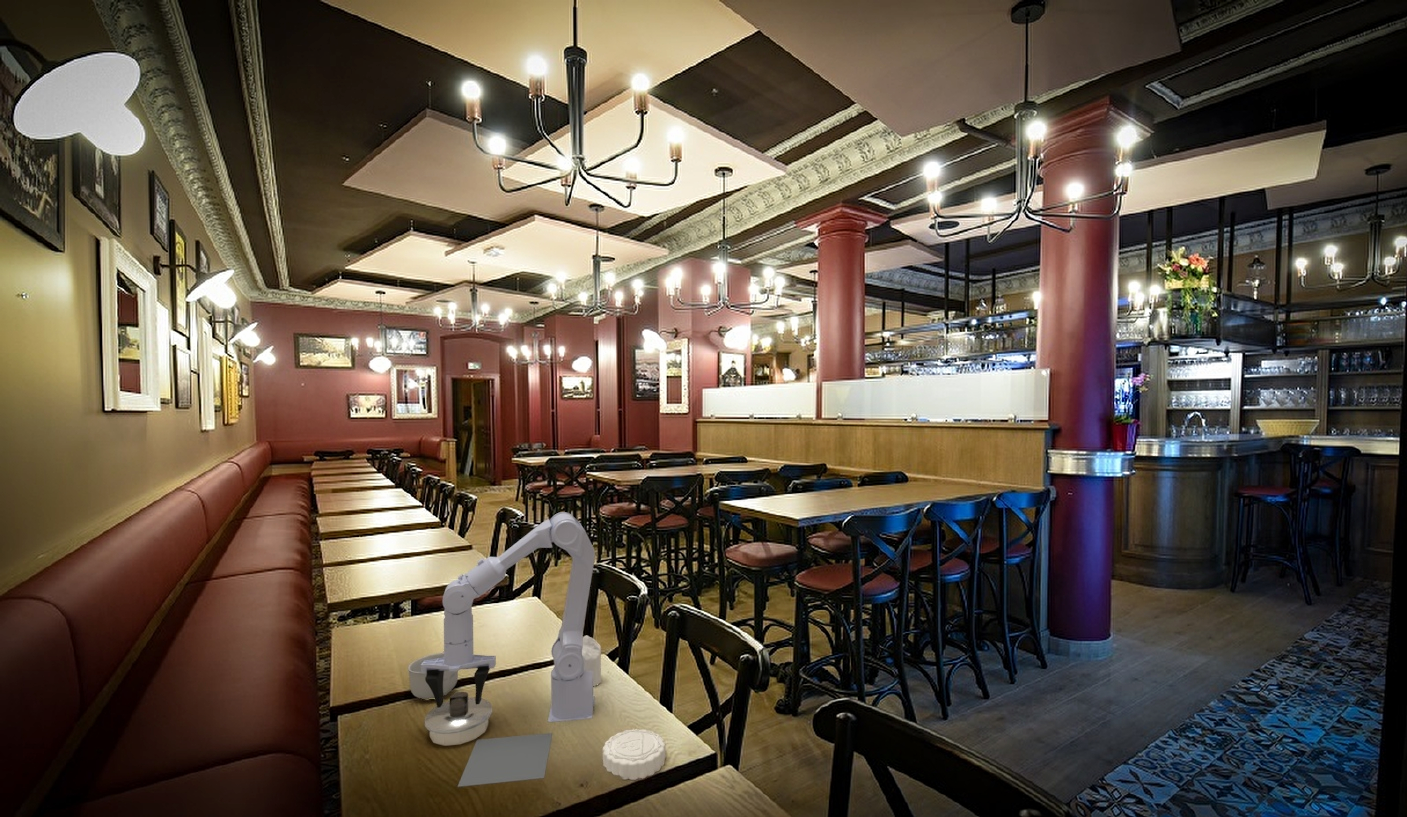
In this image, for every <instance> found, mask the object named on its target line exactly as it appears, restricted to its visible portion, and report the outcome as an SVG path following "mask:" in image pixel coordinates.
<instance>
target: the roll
mask: <svg viewBox="0 0 1407 817" xmlns="http://www.w3.org/2000/svg"><path fill="white" fill-rule="evenodd" d="M582 656H583V658H584V670H588V671H593V686H594V687H596V686H595V685H597V684H599V683H600V682H601V683H602V646H601V644H599V642H597V640H596V639H594V638H593V637H592V636H591V637H590V636H589V635H584V636H583V648H582ZM601 683H600V684H601ZM600 684H599V685H600ZM597 686H598V685H597Z"/></svg>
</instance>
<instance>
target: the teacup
mask: <svg viewBox="0 0 1407 817" xmlns="http://www.w3.org/2000/svg"><path fill="white" fill-rule="evenodd" d="M443 657H444V650H443V651H442V652H438V653H437V652H436V653H431V654H427V655H425V656H422V657H420V658H418V659H416V660H414V661H412V662H411V663H409V665H408V667H407V670H408V677H409V678H408V680H409V686H410V692H411V693H412V695H413V696H414V697H416V698H418V699H420V698H423V699H429V698H434V695H433V692H432V690H431V689H430V687H429V685H428V684H427V683H426V681H425V677H426V675H427V673H424V674H421V664H422V663H423V661H425V660H433V659H438V658H443ZM458 679H459V671H452V672H450V671H449V670H446V671H444V676H443V695H445V696H446V695H448V694H449V693H450V692H451V691H452V689H454V688H455V686H456V685H457V682H458ZM449 691H450V692H449ZM448 692H449V693H448ZM447 693H448V694H447Z"/></svg>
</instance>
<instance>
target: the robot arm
mask: <svg viewBox="0 0 1407 817" xmlns="http://www.w3.org/2000/svg"><path fill="white" fill-rule="evenodd" d="M552 543H554V544H555V545H556V546H557V547H559V548H561V549H563V550H565V551H566V552H567V553H568V554H569V555H570V557H571V558H572V561H571V566H570V572H569V579H568V586H567V590H566V591H567V592H566V597H565V604H564V609H563V614H562V620H561V627H560V629H559V630H558V635H557V638H556V640H555V641H554V643H553V645H552V647H551V650H550V652H551V656H552V659H553V666H554V667H553V668H552V669H551V671H550V681H551V682H550V689H551V690H550V692H551V693H550V694H551V696H550V697H551V698H550V699H551V701H550V702H551V703H550V704H551V705H550V709H549V714H548V718H547V722H548V723H558V722H568V721H578V720H580V721H581V720H589V719H593V716H594V706H595V705H596V704H595V703H596V702H595V701H596V697H595V696H596V695H594V693H595V692H594V687H593V671H588V670H584V658H583V656H582V648H583V637H584V636H583V635H584V633H583V631H584V626H585V620H586V614H587V607H588V600H589V595H590V589H591V588H590V587H591V584H592V577H593V571H594V565H595V561H596V560H595V559H596V551H595V548H594V546H593V545H592V542H591V540H590V538H589V536H588V534H587V532H586V530H585V528H584V527H583V526H582V524H581V522H580V521H578V519H577V518H575V517H574V515H572V514H571V513H569V512H565V511H562V512H561V511H560V512H558V513H556V514H554V515H553V516H552V517H551V518H548V519H545V520H544V521H543V522H541V523H540V524H539V525H537V526H536V527H534V528H533V529H532V530H530V531H529V532H528V533H526V535H524V536H523V537H521V539H519V540H518V541H517V542H516V543H513V545H512V546H511V547H509V548H508V549H507V550H505V551H504V552H503V553H501V555H499V556H488V557H486V558H485V559H484V557H481V559H479V560H478V561H477V565H475V566H474V567H472V569H470V570H469V571H467V572H466V573H465V574H463V573H461V574H459V575H458V576H457V579H454V580H453V581H451V582H449V583H448V584H447V586H445V590H444V593H443V596H442V606H443V608H444V610H443V615H444V617H443V651H444V657H443V658H438V659H433V660H425V661H423V663H422V664H421V674H424V673H427V675H426V677H425V681H426V683H427V684H428V685H429V687H430V689H431V690H432V692H433V695H434V698H435V699H434V701H435V704H436V707H437V708H439V707H441V706H442V704H443V703H444V697H445V696H443V676H444V671H446V670H449V671H450V672H452V671H458V672H459V671H460V670H469V669H470V670H471V669H476V670H475V673H474V674H473V676H474V683H475V685H474V686H475V703H476V704H480V701H481V698H482V697H483V691H484V690H483V689H484V686H485V682H486V680H487V677H488V674H489V672H490V670H491V669H495V667H496V664H497V663H496V662H497V660H496V659H497V655H485V654H483V655H482V654H474V615H473V613H472V612H473V611H472V609H473V608H472V606H473V603H474V599H478V598H480V597H482V595H484V594H485V593H487V592H489V591H490V590H491V589H492V588H494V587H495V586H496V585H497V584H498V583H500V582H501V581H503V580H504V579H505V578H506V573H507V570H508V569H509V568H511V567H513V566H514V565H515V564H517V563H519V561H521V560H523V559H524V558H526V557H527V556H529V555H530V554H531V553H533V552H534V551H536V550H537V549H542V548H543V549H544V548H546V549H547V548H549V549H550V548H551V549H552V548H553V544H552Z"/></svg>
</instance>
